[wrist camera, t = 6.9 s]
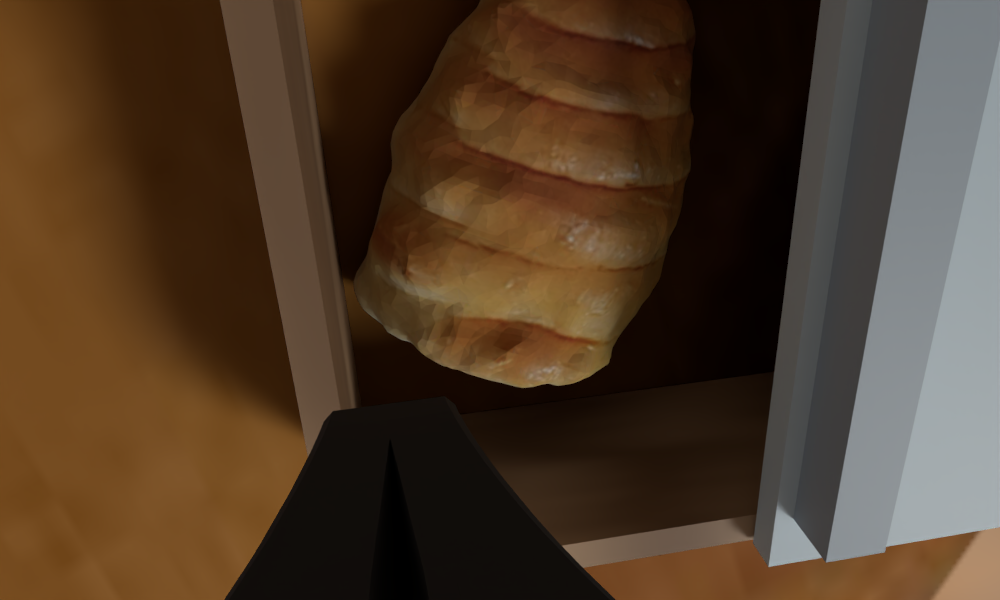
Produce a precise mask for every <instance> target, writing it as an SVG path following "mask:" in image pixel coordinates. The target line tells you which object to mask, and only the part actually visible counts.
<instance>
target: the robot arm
mask: <svg viewBox="0 0 1000 600" xmlns="http://www.w3.org/2000/svg"><path fill="white" fill-rule="evenodd" d="M225 600H615V599H614V598H613V597H612V596H611V595H610V594H609V593H608V592H607V591H606V590H605V589H604V588H603V587H602V586H601V585H600V584H599V583H598V582H597V581H596V580H595V579H594V578H593V577H592V576H591V575H590V574H589V573H587V572H586V571H585V569H584V568H583V567H582V566H581V565H580V564H579V563H578V562H577V561H576V560H575V559H574V558H573V557H572V556H571V555H570V554H569V553H568V552H567V551H566V550H565V549H564V548H563V547H562V545H561V544H560V543H559V542H558V541H557V540H556V539H555V538H554V537H553V536H552V535H551V534H550V533H549V531H548V530H547V529H546V528H545V527H544V526H543V525H542V524H541V522H540V521H539V520H538V519H537V518H536V517H535V516H534V514H533V513H532V512H531V511H530V510H529V508H528V507H527V506H526V505H525V504H524V502H523V501H522V500H521V499H520V498H519V496H518V495H517V494H516V493H515V492H514V490H513V489H512V488H511V487H510V486H509V484H508V483H507V482H506V481H505V480H504V478H503V477H502V476H501V474H500V473H499V472H498V470H497V469H496V468H495V466H494V465H493V464H492V462H491V461H490V460H489V458H488V457H487V455H486V454H485V453H484V451H483V450H482V448H481V447H480V446H479V444H478V443H477V441H476V440H475V438H474V437H473V435H472V434H471V432H470V431H469V429H468V427H467V426H466V424H465V423H464V421H463V419H462V417H461V415H460V414H459V412H458V410H457V408H456V405H455V404H454V403H453V402H451V401H450V400H449V399H447V398H446V397H445V396H442V397H435V398H427V399H420V400H412V401H405V402H397V403H390V404H382V405H375V406H367V407H360V408H352V409H345V410H337V411H333V412H332V413H331V414H330V415H329V416H328V417H327V418H326V419H325V421H324V422H323V425H322V427H321V430H320V432H319V434H318V437H317V439H316V441H315V443H314V446H313V448H312V450H311V452H310V454H309V456H308V458H307V460H306V462H305V464H304V466H303V468H302V470H301V472H300V474H299V476H298V478H297V480H296V482H295V484H294V486H293V488H292V490H291V491H290V493H289V495H288V497H287V499H286V500H285V502H284V504H283V506H282V507H281V509H280V511H279V513H278V514H277V516H276V518H275V519H274V521H273V523H272V525H271V526H270V528H269V530H268V532H267V533H266V535H265V537H264V539H263V540H262V542H261V544H260V545H259V547H258V549H257V550H256V552H255V554H254V555H253V557H252V558H251V560H250V562H249V563H248V565H247V566H246V568H245V569H244V571H243V572H242V574H241V575H240V577H239V578H238V580H237V581H236V583H235V584H234V586H233V587H232V589H231V590H230V592H229V593H228V595H227V596H226V598H225Z"/></svg>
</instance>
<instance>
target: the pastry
mask: <svg viewBox="0 0 1000 600" xmlns="http://www.w3.org/2000/svg"><path fill="white" fill-rule="evenodd" d="M695 39H696V31H695V26H694V21H693V17H692V11H691V8H690V5H689V4H688V2H687V1H686V0H480V2H479V4H478V6H477V8H476V9H475V10H474V11H473V12H472V13H471V14H470V15H469V16H468V17H467V18H466V19H465V20H464V21H463V22H462V23H461V24H460V25H459V26H458V27H457V28H456V29H455V30H454V31H453V32H452V33H451V34H450V36H449V37H448V39H447V42H446V44H445V46H444V48H443V49H442V51H441V53H440V55H439V57H438V59H437V61H436V63H435V65H434V68H433V71H432V73H431V75H430V77H429V79H428V80H427V82H426V83H425V85H424V86H423V88H422V89H421V92H420V94H419V95H418V97H417V98H416V99H415V100H414V102H413V103H412V104H411V105H410V107H409V108H408V109H407V110H406V111H405V112H404V113H403V114H402V115H401V117H400V118H399V120H398V122H397V124H396V126H395V128H394V131H393V133H392V139H391V154H392V171H391V173H390V175H389V177H388V179H387V182H386V185H385V188H384V191H383V195H382V200H381V204H380V207H379V211H378V215H377V219H376V223H375V227H374V231H373V233H372V236H371V239H370V242H369V248H368V252H367V256H366V257H365V259H364V261H363V262H362V264H361V266H360V267H359V269H358V271H357V272H356V275H355V279H354V291H355V294H356V297H357V300H358V302H359V303H360V305H361V307H362V308H363V310H364V311H366V312H367V313H368V314H369V315H370V316H372V317H373V318H375V319H376V320H377V321H378V322H380V323H381V324H382V325H383V326H384V328H385V329H386V331H387V332H389V333H390V334H392V335H394V336H395V337H397V338H399V339H401V340H404V341H408V342H411V343H412V344H413V345H414V346H415V347H416V348H417V350H419V351H420V352H421V353H422V354H423V355H425V356H426V357H428V358H429V359H431V360H433V361H435V362H436V363H438V364H440V365H442V366H447V367H449V368H451V369H456V370H460V371H462V372H464V373H467V374H470V375H473V376H476V377H480V378H483V379H487V380H491V381H495V382H500V383H504V384H508V385H511V386H515V387H521V388H527V387H535V386H538V385H542V384H552V385H556V386H561V385H567V384H573V383H576V382H579V381H581V380H583V379H585V378H588V377H590V376H591V375H593V374H594V373H595V372H597V371H598V370H600V369H601V368H603V367H604V366H606V365H607V364H609V361H610V358H611V353H612V348H613V346H614V344H615V342H616V341H617V339H618V337H619V336H620V334H621V333H622V332H623V330H624V329H625V328H626V326H627V325H628V324H629V322H630V321H631V320H632V319H633V318H634V316H635V315H636V314H637V312H638V311H639V309H640V307H641V305H642V304H643V302H644V301H645V300H646V299H647V298H648V297H649V296H650V295H651V292H652V290H653V289H654V287H655V285H656V284H657V282H658V281H659V279H660V275H661V272H662V267H663V263H664V258H665V255H666V252H667V247H668V241H669V238H670V236H671V234H672V232H673V230H674V228H675V226H676V224H677V221H678V218H679V215H680V212H681V207H682V205H683V193H684V187H685V182H686V180H687V177H688V175H689V172H690V169H691V155H690V140H691V136H692V131H693V125H694V116H693V113H692V110H691V105H690V98H691V88H690V82H691V74H692V66H693V58H692V56H693V49H694V44H695Z"/></svg>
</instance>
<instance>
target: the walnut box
mask: <svg viewBox="0 0 1000 600" xmlns="http://www.w3.org/2000/svg"><path fill="white" fill-rule="evenodd" d="M220 4H221V10H222V15H223V20H224V25H225V30H226V35H227V41H228V46H229V51H230V56H231V61H232V66H233V72H234V77H235V82H236V87H237V92H238V97H239V103H240V108H241V113H242V118H243V123H244V128H245V134H246V139H247V144H248V149H249V154H250V159H251V165H252V170H253V175H254V180H255V185H256V190H257V196H258V201H259V206H260V211H261V216H262V221H263V226H264V232H265V237H266V242H267V247H268V252H269V257H270V263H271V268H272V273H273V278H274V283H275V288H276V294H277V299H278V304H279V309H280V314H281V319H282V325H283V330H284V335H285V340H286V345H287V350H288V356H289V361H290V366H291V371H292V376H293V381H294V387H295V392H296V397H297V402H298V407H299V412H300V418H301V423H302V428H303V433H304V438H305V443H306V449H307V454H308V456H309V454H310V452H311V450H312V448H313V446H314V443H315V441H316V439H317V437H318V434H319V432H320V430H321V427H322V425H323V422H324V421H325V419H326V418H327V417H328V416H329V415H330V414H331V413H332V412H333V411H337V410H345V409H352V408H360V407H362V404H361V398H360V391H359V384H358V378H357V371H356V364H355V358H354V351H353V345H352V338H351V331H350V325H349V318H348V311H347V305H346V298H345V291H344V285H343V278H342V272H341V265H340V258H339V252H338V245H337V238H336V232H335V225H334V218H333V212H332V205H331V199H330V192H329V185H328V179H327V172H326V165H325V159H324V152H323V145H322V139H321V132H320V126H319V119H318V112H317V106H316V99H315V92H314V86H313V79H312V72H311V66H310V59H309V53H308V46H307V39H306V33H305V26H304V19H303V13H302V6H301V0H220ZM773 379H774V372H769V373H761V374H754V375H747V376H740V377H732V378H725V379H718V380H710V381H703V382H696V383H688V384H681V385H674V386H666V387H659V388H652V389H644V390H637V391H630V392H622V393H615V394H608V395H600V396H593V397H586V398H578V399H571V400H564V401H556V402H549V403H542V404H534V405H527V406H520V407H513V408H505V409H498V410H491V411H483V412H476V413H469V414H461V417H462V419H463V421H464V423H465V424H466V426H467V427H468V429H469V431H470V432H471V434H472V435H473V437H474V438H475V440H476V441H477V443H478V444H479V446H480V447H481V448H482V450H483V451H484V453H485V454H486V455H487V457H488V458H489V460H490V461H491V462H492V464H493V465H494V466H495V468H496V469H497V470H498V472H499V473H500V474H501V476H502V477H503V478H504V480H505V481H506V482H507V483H508V484H509V486H510V487H511V488H512V489H513V490H514V492H515V493H516V494H517V495H518V496H519V498H520V499H521V500H522V501H523V502H524V504H525V505H526V506H527V507H528V508H529V510H530V511H531V512H532V513H533V514H534V516H535V517H536V518H537V519H538V520H539V521H540V522H541V524H542V525H543V526H544V527H545V528H546V529H547V530H548V531H549V533H550V534H551V535H552V536H553V537H554V538H555V539H556V540H557V541H558V542H559V543H560V544H561V545H562V547H563V548H564V549H565V550H566V551H567V552H568V553H569V554H570V555H571V556H572V557H573V558H574V559H575V560H576V561H577V562H578V563H579V564H580V565H581V566H582V567H583V568H584V567H590V566H596V565H602V564H608V563H614V562H620V561H626V560H632V559H638V558H644V557H650V556H656V555H662V554H668V553H674V552H680V551H686V550H692V549H698V548H704V547H710V546H716V545H722V544H728V543H734V542H740V541H746V540H753V539H754V531H755V523H756V515H757V507H758V499H759V491H760V483H761V475H762V467H763V459H764V451H765V443H766V435H767V427H768V419H769V411H770V403H771V395H772V387H773Z"/></svg>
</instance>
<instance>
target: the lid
mask: <svg viewBox="0 0 1000 600" xmlns="http://www.w3.org/2000/svg"><path fill="white" fill-rule="evenodd" d="M997 527H1000V0H821V4H820V12H819V20H818V28H817V36H816V44H815V52H814V60H813V68H812V76H811V84H810V92H809V100H808V108H807V116H806V124H805V132H804V140H803V148H802V156H801V164H800V172H799V179H798V187H797V195H796V203H795V211H794V219H793V227H792V235H791V243H790V251H789V259H788V267H787V275H786V283H785V291H784V299H783V307H782V315H781V323H780V331H779V339H778V347H777V355H776V363H775V371H774V379H773V387H772V395H771V403H770V411H769V419H768V427H767V435H766V443H765V451H764V459H763V467H762V475H761V483H760V491H759V499H758V507H757V515H756V523H755V531H754V539H753V544H754V545H755V547H756V548H757V550H758V551H759V553H760V555H761V556H762V558H763V559H764V561H765V562H766V564H767V565H768V567H770V566H776V565H782V564H788V563H794V562H799V561H805V560H811V559H817V558H823V559H824V561H825V562H831V561H837V560H843V559H848V558H854V557H860V556H866V555H871V554H877V553H883V552H885V549H886V547H887V546H893V545H899V544H904V543H910V542H916V541H922V540H928V539H934V538H939V537H945V536H951V535H957V534H963V533H969V532H974V531H980V530H986V529H992V528H997Z"/></svg>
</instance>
